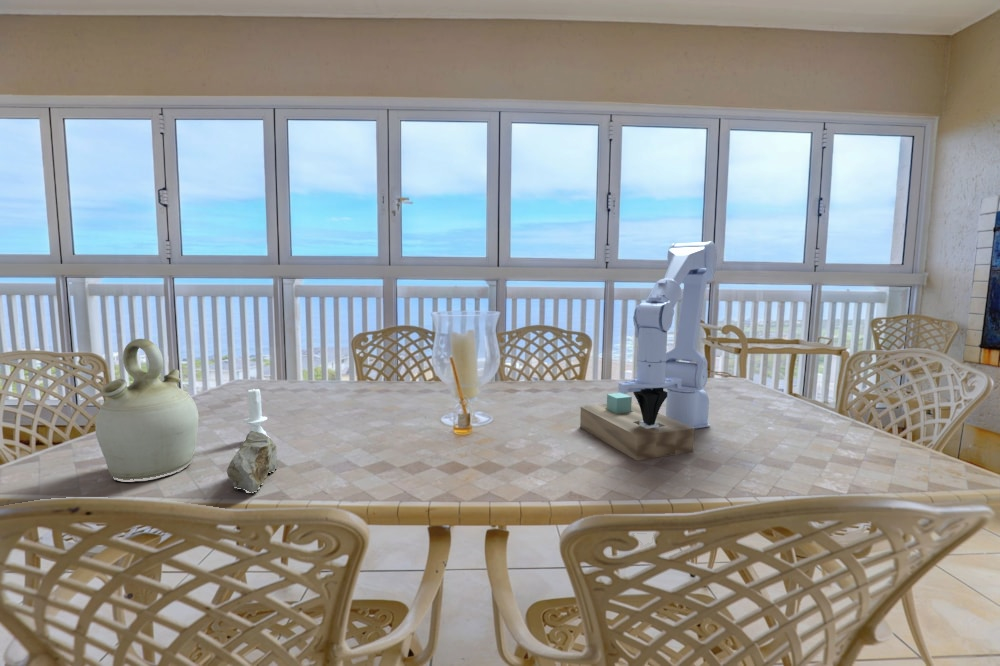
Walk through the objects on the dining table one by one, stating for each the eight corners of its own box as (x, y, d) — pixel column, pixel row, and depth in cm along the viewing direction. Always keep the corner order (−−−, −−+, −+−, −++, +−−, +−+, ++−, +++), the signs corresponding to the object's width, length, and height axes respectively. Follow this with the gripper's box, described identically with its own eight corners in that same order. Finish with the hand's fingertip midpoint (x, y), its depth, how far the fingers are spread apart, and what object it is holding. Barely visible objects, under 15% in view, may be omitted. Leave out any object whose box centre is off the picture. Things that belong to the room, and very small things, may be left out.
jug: (122, 495, 78) (106, 347, 75) (86, 475, 86) (71, 340, 83) (217, 464, 90) (207, 336, 87) (179, 449, 99) (168, 331, 96)
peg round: (649, 441, 102) (650, 419, 101) (662, 447, 98) (663, 425, 98) (634, 443, 101) (635, 421, 100) (646, 450, 97) (647, 427, 96)
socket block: (629, 420, 117) (629, 401, 117) (693, 451, 97) (694, 428, 96) (580, 427, 112) (580, 406, 112) (636, 460, 92) (637, 436, 91)
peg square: (620, 413, 112) (621, 392, 111) (631, 417, 108) (631, 396, 107) (606, 414, 110) (607, 394, 110) (616, 419, 107) (616, 398, 106)
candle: (274, 440, 104) (271, 387, 102) (248, 446, 100) (244, 391, 99) (264, 434, 108) (261, 383, 106) (239, 440, 104) (235, 387, 102)
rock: (244, 461, 89) (242, 418, 85) (280, 464, 90) (280, 421, 86) (215, 510, 78) (211, 463, 74) (257, 512, 79) (255, 466, 75)
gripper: (666, 355, 103) (664, 414, 105) (610, 359, 98) (608, 421, 100) (689, 360, 97) (686, 423, 98) (630, 365, 92) (628, 431, 93)
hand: (648, 423), depth 99 cm, fingers closed, pressing on peg round
